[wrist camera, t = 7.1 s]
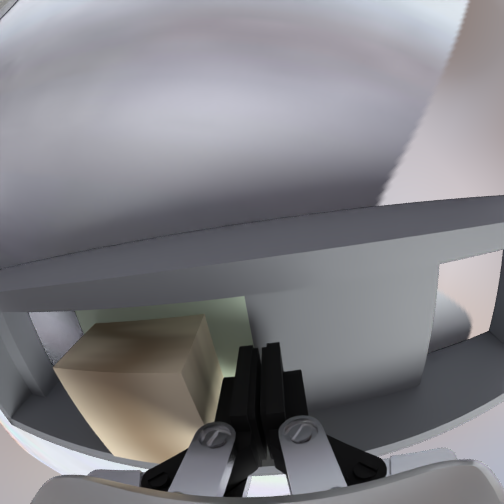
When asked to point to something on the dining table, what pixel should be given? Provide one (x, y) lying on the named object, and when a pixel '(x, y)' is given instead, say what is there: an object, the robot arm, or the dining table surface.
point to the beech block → (144, 384)
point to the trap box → (282, 317)
